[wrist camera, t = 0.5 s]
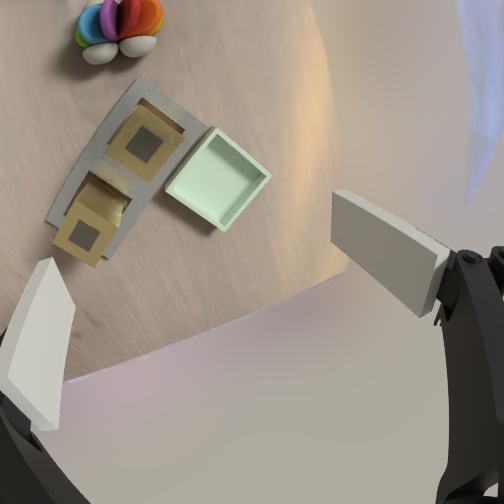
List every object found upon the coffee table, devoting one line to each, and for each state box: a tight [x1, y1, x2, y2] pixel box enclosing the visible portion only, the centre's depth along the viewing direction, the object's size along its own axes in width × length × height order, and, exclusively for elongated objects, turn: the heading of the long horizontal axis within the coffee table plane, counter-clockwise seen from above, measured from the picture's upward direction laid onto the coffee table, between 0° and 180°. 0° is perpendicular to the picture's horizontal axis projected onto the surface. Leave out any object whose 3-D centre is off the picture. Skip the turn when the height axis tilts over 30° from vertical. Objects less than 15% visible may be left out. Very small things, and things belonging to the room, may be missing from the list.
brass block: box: [53, 177, 125, 268], centre depth 28 cm, size 5×5×9 cm
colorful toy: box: [75, 0, 164, 65], centre depth 20 cm, size 8×10×7 cm
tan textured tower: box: [105, 104, 185, 183], centre depth 26 cm, size 5×5×9 cm
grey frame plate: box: [46, 76, 207, 259], centre depth 30 cm, size 10×20×1 cm, turn 137°
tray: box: [164, 126, 272, 232], centre depth 34 cm, size 9×9×2 cm
